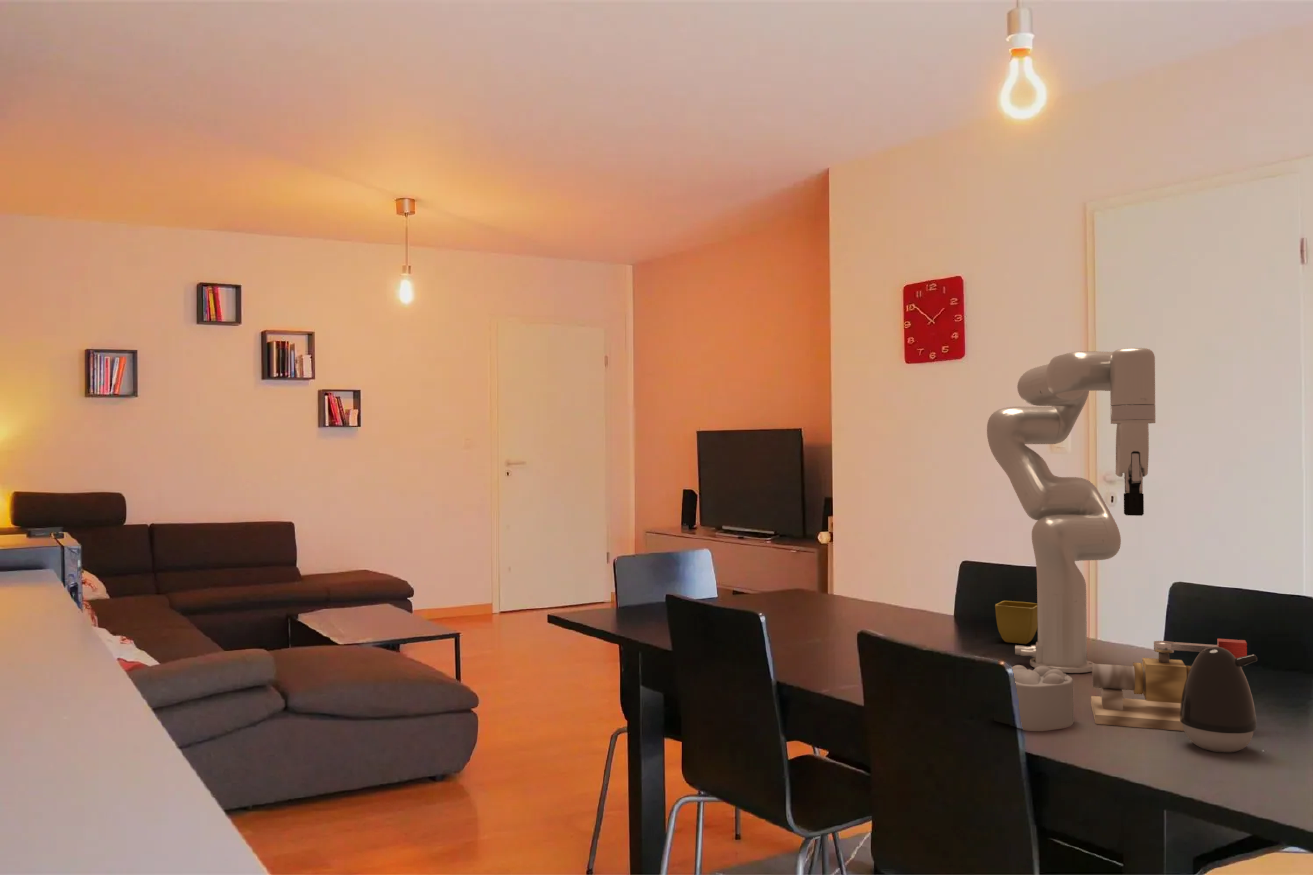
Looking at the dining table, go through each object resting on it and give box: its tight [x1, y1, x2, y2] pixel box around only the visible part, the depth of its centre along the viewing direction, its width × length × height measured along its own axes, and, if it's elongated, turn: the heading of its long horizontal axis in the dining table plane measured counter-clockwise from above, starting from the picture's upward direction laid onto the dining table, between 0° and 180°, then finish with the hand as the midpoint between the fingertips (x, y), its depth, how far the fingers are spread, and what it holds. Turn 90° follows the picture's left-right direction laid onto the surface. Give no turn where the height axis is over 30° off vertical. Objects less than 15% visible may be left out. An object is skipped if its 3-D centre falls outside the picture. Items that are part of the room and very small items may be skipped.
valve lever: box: [1153, 638, 1248, 658], centre depth 171 cm, size 14×3×2 cm, turn 65°
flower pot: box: [994, 600, 1038, 645], centre depth 244 cm, size 9×9×9 cm
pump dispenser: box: [1180, 647, 1258, 754], centre depth 156 cm, size 10×10×15 cm
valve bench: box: [1090, 652, 1192, 732], centre depth 173 cm, size 22×14×11 cm, turn 70°
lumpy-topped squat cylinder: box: [1011, 664, 1075, 732], centre depth 172 cm, size 10×13×9 cm
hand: (1133, 515), depth 190 cm, fingers closed
